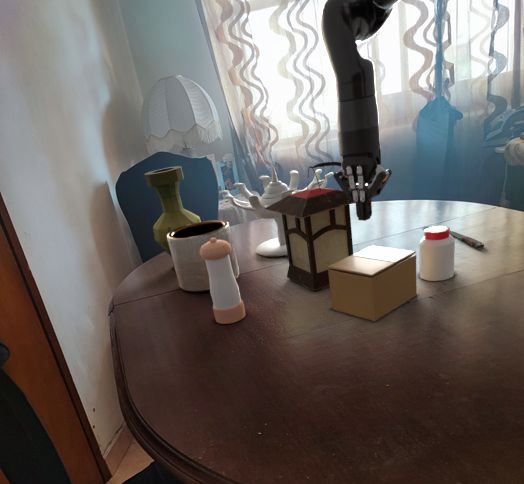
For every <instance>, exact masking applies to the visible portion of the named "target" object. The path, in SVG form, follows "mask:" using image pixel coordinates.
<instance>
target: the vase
mask: <svg viewBox="0 0 524 484" xmlns="http://www.w3.org/2000/svg"><path fill="white" fill-rule="evenodd" d="M144 179H145V181H146V186H147V187H149V188H150V187H151V188H152V187H153V188H154V190H155V192H156V195H157V196H158V197H159V201H160V204H161V208H162V212H163V213H161V215H160V217H159V218H158V219H157V221H156V222H155V223H154V224H153V226H152V232H153V237H154V241H155V242H156V243H157V244H158V245H159V246H160V247H161V248H162V249H163V250H164V251H165V252H166V253H167V254H168V255H169V256H170V257H171V258H172V255H171V251H170V247H169V243H168V240H167V234H168V233H170V232H171V231H173V230H175V229H177V228H180V227H182V226H185V225H189V224H193V223H197V222H202V220H201V216H199V215H197V214H195V213H193V212H192V211H190V210H187V209H185V208H184V206H183V204H182V203H183V202H182V199H181V195H180V181H181V182H182V181H183V180H184V179H185V177H184V171H183V168H182V165H181V166H180V165H177V166H175V165H174V166H169V167H168V166H167V167H164V168H159V169H155V170H152V171H148V172H145V173H144ZM172 263H173V262H172ZM173 270H174V271H176V270H175V266H174V263H173Z"/></svg>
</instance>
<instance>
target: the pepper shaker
mask: <svg viewBox="0 0 524 484" xmlns="http://www.w3.org/2000/svg"><path fill="white" fill-rule="evenodd" d="M230 252H231V246H230V244H229V243H228V242H227V241H224V240H217V239H216V238H211V239H210V241H209V242H207V243H205V244H204V245H202V247H201V249H200V255H201V257H202V258H203V259H205V261H206V265H207V270H208V274H209V282H210V291H209V294H210V296H211V300H212V303H213V305H212V310H213V311H212V312H213V315H214V319H215V322H216V323H217V324H223V325H227V324H234V323H237V322H239V321H241V320H243V319H244V318H245V317H246V309H245V305H244V301H243V299H242V298H241V293H240V292H241V291H240V287H239V284H238V282H237V279H235V277H234V274H233V271H232V266H231V262H230V257H229V254H230Z"/></svg>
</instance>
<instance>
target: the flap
mask: <svg viewBox="0 0 524 484" xmlns="http://www.w3.org/2000/svg"><path fill="white" fill-rule="evenodd" d="M393 265H394V263H392V262H386V261H380V260H374V259H368V258H361V257H355V256H349V257H347V258H344V259H342V260H340V261H338V262H336V263H334V264H332V265H330V266H328V268H331V269H336V270H341V271H346V272H351V273H357V274H362V275H367V276H374V275H376V274H378V273H379V272H381V271H383V270H385V269H387V268H389V267H391V266H393Z"/></svg>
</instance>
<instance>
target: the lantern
mask: <svg viewBox="0 0 524 484" xmlns="http://www.w3.org/2000/svg"><path fill="white" fill-rule="evenodd" d="M381 151H382V150H381V148H380V149H379V152H378V155H379V158H380V160H381V161H382V154H381V153H382V152H381ZM341 163H342V161H325V162H318V163H316V164H314V165H310V166H309V167H308V169H307V177H309V174H310V169H312V171H313V173H314V176H315V175H316V173H315V171H316V170H315V168H323V167H331V166H333V167H334V166H336V167H337V166H338V167H339V168H342V166H341ZM316 178H317V176H316ZM317 182H318V179H317ZM318 185H319V187H314V188H310V189H308V186H309V184H307V186H306V187H307V189H306V190H304V189H302V190H303V191H300V192H297V193H294V194H291V195H288V196H287V197H285V198H283V199H281V200H279V201H278V202H276V203H274V204H272V205H270V206H268V207H267V208H265V209H266V210H270V211H274V212H277V213H281V214H282V221H283V227H284V234H285V241H286V248H287V254H288V255H287V259H288V260H287V261H288V266H287V267H288V268H287V274H286V278H287V279H289V280H291V281H293V282H294V283H296V284H299V285H301V286H302V287H304V288H307V289H309V290H311V291H312V292H318V291H321V290H323V289H326V288H328V287H329V288H330V283H329V274H328V270H329V269H331V268H328V266H330V265H332V264H334V263H336V262H338V261H340V260H342V259H344V258H347V257H349V256H351V255H352V254H354V245H353V234H352V233H353V232H352V218H351V207H350V205H352V204H354V203H355V204H356V202H355V201H354V200H353V199H352V198H347V197H346V195H345V193H344V192H343V190H341V189H336V188H329V187H324V188H322V187H320V186H321V185H320V184H319V182H318Z"/></svg>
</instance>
